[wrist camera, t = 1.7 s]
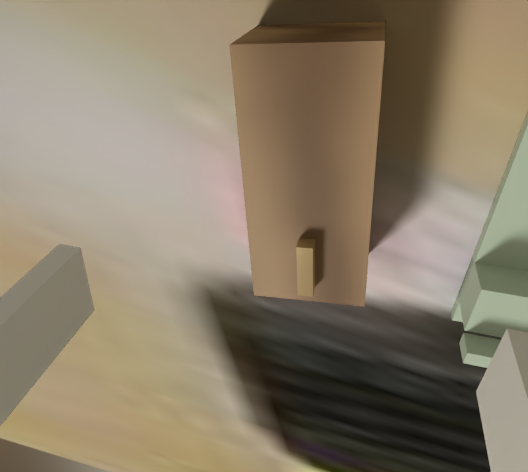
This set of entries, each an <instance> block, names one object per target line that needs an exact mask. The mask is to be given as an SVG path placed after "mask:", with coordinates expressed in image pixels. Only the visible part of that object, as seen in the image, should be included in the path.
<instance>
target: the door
mask: <svg viewBox="0 0 528 472" xmlns="http://www.w3.org/2000/svg"><path fill="white" fill-rule="evenodd" d="M385 24H386V21H377V22H349V23H320V24H291V25H263V26H257V27H255V28H254V29H252V30H251V31H249V32H248V33H246V34H245V35H243V36H242V37H240V38H239V39H237V40H236V41H234V42H233V43H231V44H230V54H231V64H232V74H233V84H234V95H235V105H236V115H237V125H238V136H239V146H240V156H241V166H242V177H243V187H244V197H245V207H246V218H247V228H248V238H249V248H250V259H251V269H252V279H253V289H254V295H258V296H268V297H277V298H287V299H297V300H307V301H317V302H326V303H336V304H346V305H356V306H365V294H366V281H367V268H368V255H369V242H370V229H371V216H372V204H373V191H374V178H375V165H376V152H377V139H378V126H379V114H380V101H381V88H382V75H383V62H384V49H385Z"/></svg>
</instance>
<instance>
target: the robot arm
mask: <svg viewBox="0 0 528 472" xmlns="http://www.w3.org/2000/svg"><path fill="white" fill-rule="evenodd" d="M93 311H94V306H93V301H92V297H91V292H90V288H89V284H88V279H87V275H86V270H85V266H84V261H83V257H82V252H81V248H79V247H74V246H68V245H63V244H59V245H58V246H57V247H55V248H54V249H53V250H52V251H51V252H50V253H49V254H48V255H47V256H46V257H44V258H43V259H42V260H41V261H40V262H39V263H38V264H37V265H36V266H35V267H33V268H32V269H31V270H30V271H29V272H28V273H27V274H26V275H25V276H24V277H22V278H21V279H20V280H19V281H18V282H17V283H16V284H15V285H14V286H13V287H11V288H10V289H9V290H8V291H7V292H6V293H5V294H4V295H3V296H2V297H0V426H1V425H2V424H3V422H4V421H5V420H6V419H7V417H8V416H9V415H10V414H11V412H12V411H13V410H14V409H15V407H16V406H17V405H18V404H19V403H20V401H21V400H22V399H23V398H24V396H25V395H26V394H27V393H28V391H29V390H30V389H31V388H32V386H33V385H34V384H35V383H36V381H37V380H38V379H39V378H40V377H41V375H42V374H43V373H44V372H45V370H46V369H47V368H48V367H49V365H50V364H51V363H52V362H53V360H54V359H55V358H56V357H57V356H58V354H59V353H60V352H61V351H62V349H63V348H64V347H65V346H66V344H67V343H68V342H69V341H70V339H71V338H72V337H73V336H74V335H75V333H76V332H77V331H78V330H79V328H80V327H81V326H82V325H83V323H84V322H85V321H86V320H87V318H88V317H89V316H90V315H91V314H92V312H93ZM476 393H477V399H478V404H479V410H480V415H481V420H482V426H483V431H484V436H485V442H486V447H487V452H488V458H489V463H490V469H491V472H528V332H522V331H517V330H512V329H506V331H505V333H504V335H503V337H502V340H501V342H500V344H499V346H498V348H497V350H496V352H495V354H494V356H493V358H492V360H491V362H490V364H489V366H488V368H487V370H486V372H485V374H484V377H483V379H482V381H481V383H480V385H479V387H478V389H477V391H476Z"/></svg>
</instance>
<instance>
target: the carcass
mask: <svg viewBox="0 0 528 472" xmlns="http://www.w3.org/2000/svg"><path fill="white" fill-rule="evenodd" d="M451 317H452V320H454V321H460V322H463V325H464V330H465V331H470V332H476V333H481V334H486V335H492V336H497V337H503V335H504V333H505V331H506V329H512V330H517V331H522V332H528V113H527V116H526V118H525V121H524V124H523V126H522V129H521V131H520V134H519V137H518V139H517V142H516V144H515V147H514V150H513V152H512V155H511V158H510V160H509V163H508V165H507V168H506V171H505V173H504V176H503V179H502V181H501V184H500V186H499V189H498V192H497V194H496V197H495V200H494V202H493V205H492V207H491V210H490V213H489V215H488V218H487V220H486V223H485V226H484V228H483V231H482V234H481V236H480V239H479V241H478V244H477V247H476V249H475V252H474V255H473V257H472V260H471V262H470V265H469V268H468V270H467V273H466V275H465V278H464V281H463V283H462V286H461V289H460V291H459V294H458V296H457V299H456V302H455V304H454V307H453V310H452V312H451ZM500 342H501V340H498V339H493V338H488V337H482V336H477V335H472V334H467V333H463V335H462V338H461V340H460V349H461V355H462V360H463V363H466V364H471V365H476V366H481V367H486V368H488V366H489V364H490V362H491V360H492V358H493V356H494V354H495V352H496V350H497V348H498V346H499V344H500Z"/></svg>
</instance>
